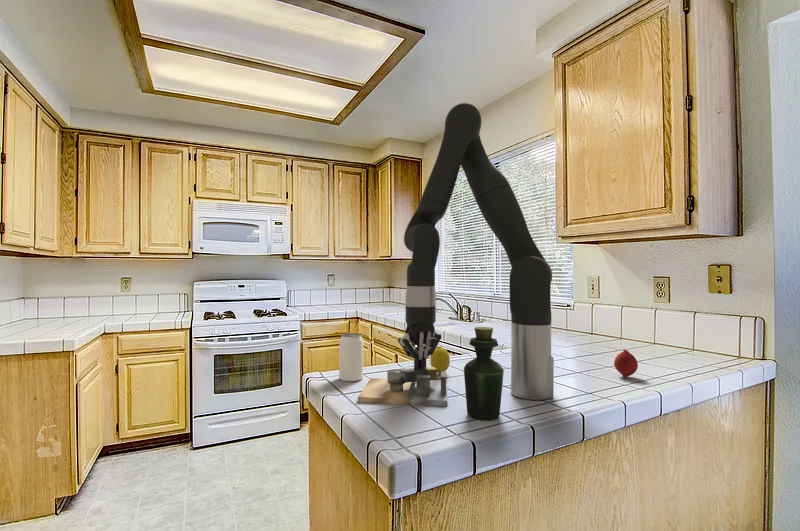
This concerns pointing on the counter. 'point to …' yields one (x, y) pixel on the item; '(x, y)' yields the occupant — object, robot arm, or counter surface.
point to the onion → (625, 363)
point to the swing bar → (409, 375)
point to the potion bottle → (483, 378)
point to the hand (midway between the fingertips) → (419, 373)
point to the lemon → (440, 359)
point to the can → (351, 357)
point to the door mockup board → (406, 391)
